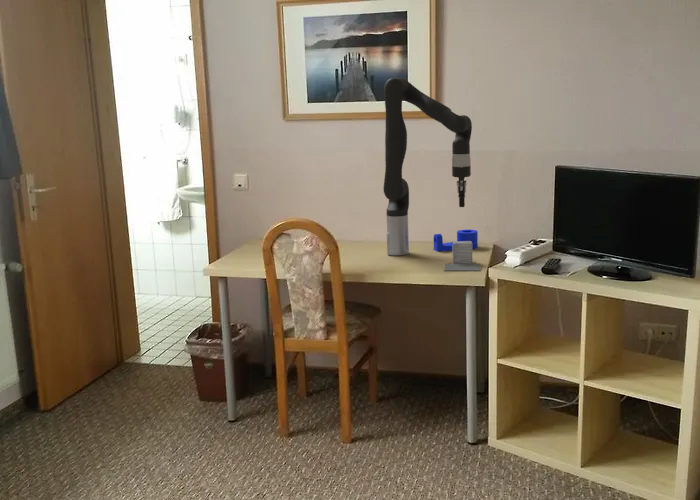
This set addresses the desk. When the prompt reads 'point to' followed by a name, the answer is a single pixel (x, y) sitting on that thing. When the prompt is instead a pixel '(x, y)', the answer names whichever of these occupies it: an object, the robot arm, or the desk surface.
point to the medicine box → (462, 252)
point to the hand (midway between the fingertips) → (461, 206)
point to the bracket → (461, 236)
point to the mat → (462, 267)
